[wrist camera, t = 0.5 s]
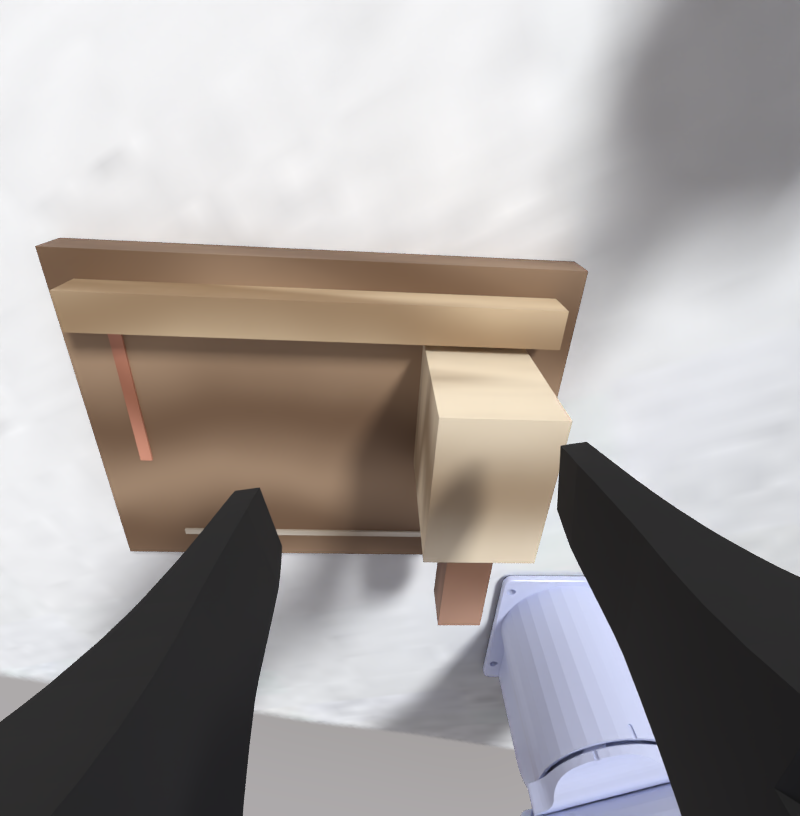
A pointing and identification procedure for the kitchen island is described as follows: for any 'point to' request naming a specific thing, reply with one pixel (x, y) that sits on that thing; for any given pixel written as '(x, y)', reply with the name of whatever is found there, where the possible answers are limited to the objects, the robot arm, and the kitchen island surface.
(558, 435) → the mallet
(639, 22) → the kitchen island surface
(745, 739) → the robot arm
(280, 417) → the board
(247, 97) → the kitchen island surface
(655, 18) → the kitchen island surface
